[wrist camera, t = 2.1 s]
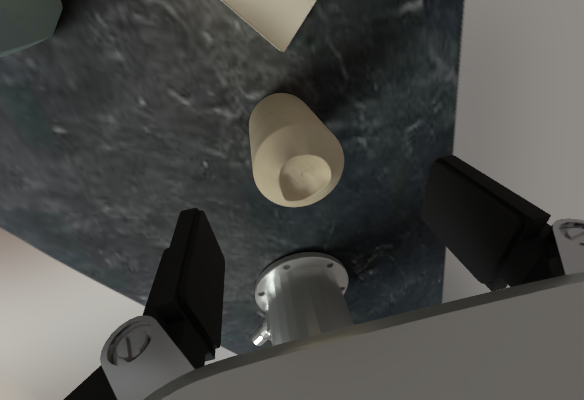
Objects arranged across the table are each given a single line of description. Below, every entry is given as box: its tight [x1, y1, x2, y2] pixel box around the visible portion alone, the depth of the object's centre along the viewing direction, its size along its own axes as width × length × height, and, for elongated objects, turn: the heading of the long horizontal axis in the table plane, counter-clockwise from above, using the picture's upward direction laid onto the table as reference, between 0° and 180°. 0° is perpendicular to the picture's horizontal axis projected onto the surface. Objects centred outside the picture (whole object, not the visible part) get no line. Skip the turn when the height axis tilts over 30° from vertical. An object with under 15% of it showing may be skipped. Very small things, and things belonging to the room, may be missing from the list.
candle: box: [249, 93, 344, 207], centre depth 18 cm, size 6×6×10 cm
